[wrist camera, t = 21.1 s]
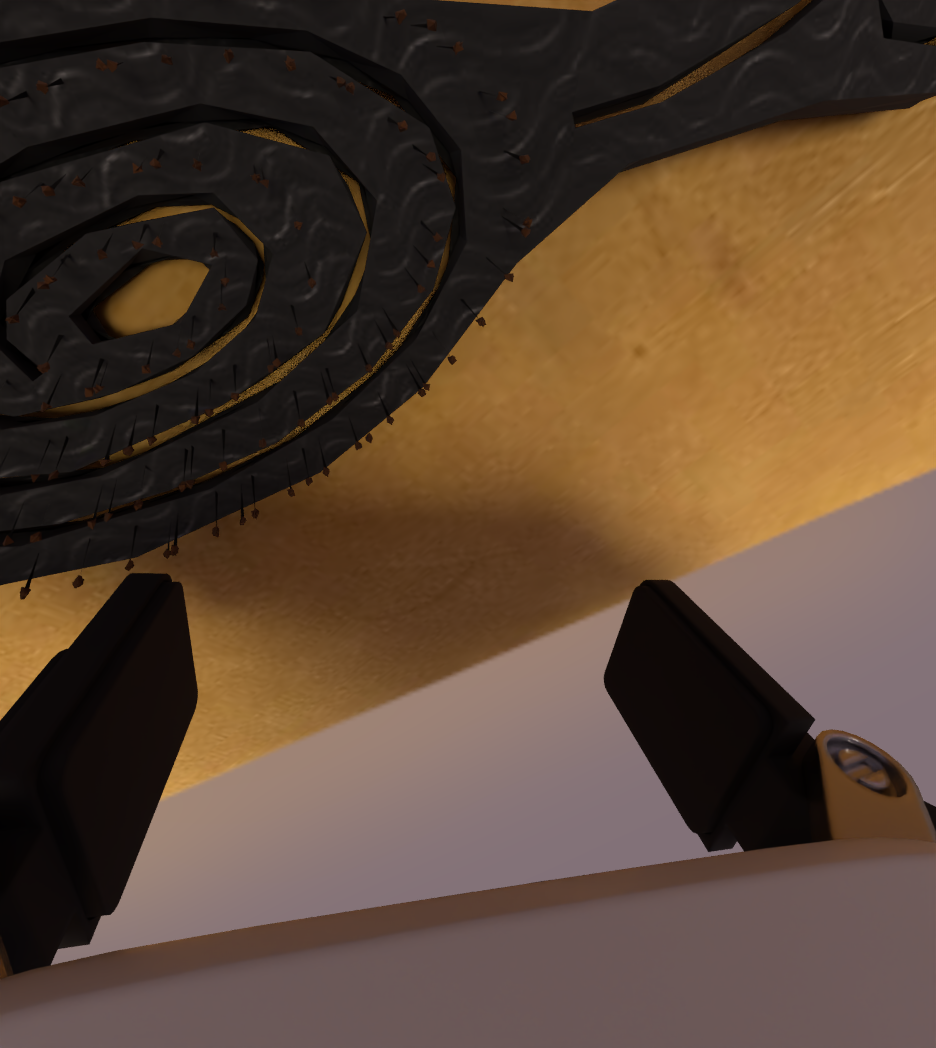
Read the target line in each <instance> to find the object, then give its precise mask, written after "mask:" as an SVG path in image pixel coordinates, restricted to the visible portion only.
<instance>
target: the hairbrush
mask: <svg viewBox="0 0 936 1048" xmlns="http://www.w3.org/2000/svg"><path fill="white" fill-rule="evenodd" d="M800 1H801V0H616V1H613V2H611V3H609V4H607V5H605V6H603V7H600V8H598V9H596V10H594V11H581V10H567V9H553V8H539V7H525V6H511V5H497V4H482V3H468V2H454V1H440V0H0V414H4V415H0V585H3V584H8V583H13V582H18V581H23V580H28V582H27V584H26V587H21V592H20V598H21V599H25V598H26V596H27V595H28V594H29V592H30V591H31V590H30V589H29V587H30V583H31V580H32V579H33V578H38V577H42V576H47V575H52V574H57V573H62V572H67V571H72V570H77V569H82V568H87V567H92V566H96V565H101V564H106V563H111V562H116V561H121V560H126V559H130V560H129V562H128V564H127V566H126V567H125V569H126V570H128V571H129V570H130V569H132V568H133V567H134V564H133V561H132V560H131V558H136V557H138V556H141V555H143V554H145V553H147V552H149V551H151V550H154V549H156V548H158V547H160V546H162V545H164V544H167V543H168V549H166V551H165V552H164V553H163V555H164V557H166V558H167V559H168V557H169V556H170V555H172V556H174V555H175V556H176V554H177V553H178V549H179V548H178V546H177V538H180V537H182V536H184V535H186V534H188V533H190V532H193V531H195V530H197V529H199V528H201V527H203V526H206V525H208V524H210V523H212V522H214V521H216V527H215V528H213V535H214V536H217V537H219V531H220V530H219V528H218V526H217V520H219V519H221V518H223V517H225V516H227V515H229V514H232V513H234V512H236V511H238V510H240V509H241V519H240V525H244V523H245V522H246V521H247V520H246V518H245V517H244V507H247V506H249V505H251V504H253V503H254V506H255V502H257V501H260V500H262V499H264V498H266V497H268V496H270V495H273V494H275V493H277V492H279V491H281V490H283V489H286V488H288V487H290V489H288V490H287V491H288V495H289V496H290V497H293V496H295V493H294V490H293V489H292V488H291V486H292V485H294V484H296V483H299V482H301V481H303V480H305V479H306V484H307V485H308V486H309V485H310V484H311V483H312V482H313V480H312V478H309V477H312V476H314V475H316V474H318V473H320V472H321V471H322V470H323V474H324V475H326V476H327V477H328V475H329V472H330V471H329V469H328V468H327V466H328V465H330V464H331V463H332V462H333V461H335V460H336V459H337V458H338V457H339V456H341V455H342V454H343V453H344V452H345V451H347V450H348V449H349V448H350V447H351V446H353V445H354V444H355V448H356V450H358V449H360V448H362V445H361V443H359V442H358V441H359V440H360V439H361V438H362V437H364V436H365V435H366V434H367V433H368V432H370V431H371V430H372V429H373V428H374V427H376V426H377V425H378V424H379V423H380V422H382V421H383V420H384V419H385V418H387V423H390V424H391V425H392V423H393V421H394V419H393V418H392V417H390V414H391V413H393V412H394V411H395V410H396V409H397V408H399V407H400V406H401V405H402V404H403V403H405V402H406V401H407V400H408V399H409V398H411V397H412V396H413V395H414V394H416V393H417V392H418V394H419V395H420V396H421V397H423V396H425V395H426V393H425V390H428V391H429V387H430V384H426V383H427V381H428V380H429V379H430V377H431V376H432V375H433V373H434V372H435V371H436V369H437V368H438V367H439V365H440V364H441V363H442V361H443V360H444V359H445V358H446V356H447V355H448V354H449V352H450V351H451V350H452V348H453V347H454V346H455V344H456V343H457V342H458V340H459V339H460V338H461V336H462V335H463V334H464V332H465V331H466V330H467V328H468V327H469V326H470V324H471V323H472V322H473V320H474V319H475V318H476V317H477V315H478V314H479V313H480V311H481V310H482V309H483V307H484V306H485V305H486V303H487V302H488V301H489V299H490V298H491V297H492V295H493V294H494V293H495V291H496V290H497V289H498V287H499V286H500V285H501V283H502V282H503V281H504V279H507V280H509V281H511V282H513V277H514V276H513V273H512V274H509V273H510V272H511V270H512V269H513V268H514V266H515V265H516V264H517V263H518V262H519V261H520V260H521V259H522V258H523V257H524V256H526V255H527V254H528V253H529V252H530V251H531V250H532V249H533V248H535V247H536V246H537V245H538V244H539V243H540V242H541V241H542V240H544V239H545V238H546V237H547V236H548V235H549V234H550V233H552V232H553V231H554V230H555V229H556V228H557V227H558V226H559V225H561V224H562V223H563V222H564V221H565V220H566V219H567V218H568V217H570V216H571V215H572V214H573V213H574V212H575V211H576V210H578V209H579V208H580V207H581V206H582V205H583V204H584V203H585V202H587V201H588V200H589V199H590V198H591V197H592V196H593V195H594V194H596V193H597V192H598V191H599V190H600V189H601V188H602V187H604V186H605V185H606V184H607V183H608V182H609V181H610V180H611V179H613V178H614V177H615V176H616V175H617V174H618V173H620V172H623V171H626V170H629V169H632V168H635V167H638V166H641V165H644V164H647V163H651V162H654V161H657V160H660V159H663V158H666V157H669V156H672V155H675V154H678V153H682V152H685V151H688V150H691V149H694V148H697V147H700V146H703V145H706V144H709V143H713V142H716V141H719V140H722V139H725V138H728V137H731V136H734V135H737V134H741V133H744V132H747V131H750V130H753V129H756V128H759V127H762V126H765V125H768V124H772V123H775V122H778V121H782V120H793V119H803V118H813V117H824V116H834V115H844V114H855V113H865V112H875V111H886V110H896V109H906V108H910V107H912V106H914V105H915V104H917V103H919V102H920V101H922V100H925V99H928V98H931V97H933V96H936V46H932V45H925V44H924V43H927V42H929V41H931V40H933V39H934V38H936V0H812V1H811V2H810V3H809V4H808V5H807V6H805V7H804V8H803V9H802V10H801V11H800V12H799V13H797V14H796V15H795V16H794V17H793V18H792V19H790V20H789V21H788V22H787V23H786V24H785V25H783V26H782V27H781V28H780V29H779V30H778V31H776V32H775V33H774V34H773V35H772V36H770V37H769V38H768V39H767V40H766V41H765V42H763V43H762V44H760V45H759V46H757V47H756V48H754V49H752V50H751V51H749V52H747V53H746V54H744V55H743V56H741V57H739V58H738V59H736V60H734V61H733V62H731V63H730V64H728V65H726V66H725V67H723V68H721V69H720V70H718V71H716V72H714V73H713V74H711V75H709V76H707V77H706V78H704V79H702V80H700V81H698V82H697V83H695V84H693V85H691V86H690V87H688V88H686V89H684V90H682V91H681V92H679V93H677V94H675V95H674V96H672V97H670V98H668V99H666V100H665V101H663V102H660V103H657V104H654V105H650V106H647V107H644V108H640V109H637V110H634V111H630V112H627V113H624V114H620V115H617V116H614V117H610V118H607V119H604V120H600V121H597V122H594V123H591V124H587V125H584V126H581V127H577V128H575V124H578V123H582V122H585V121H588V120H591V119H595V118H598V117H601V116H605V115H608V114H611V113H615V112H618V111H621V110H625V109H628V108H631V107H635V106H638V105H641V104H644V103H645V102H647V101H648V100H650V99H651V98H653V97H654V96H656V95H657V94H659V93H661V92H662V91H664V90H665V89H667V88H668V87H670V86H671V85H673V84H674V83H676V82H678V81H679V80H681V79H682V78H684V77H685V76H687V75H688V74H690V73H691V72H693V71H694V70H696V69H698V68H699V67H701V66H702V65H704V64H705V63H707V62H708V61H710V60H711V59H713V58H715V57H716V56H718V55H719V54H721V53H722V52H724V51H725V50H727V49H728V48H730V47H732V46H733V45H735V44H736V43H738V42H739V41H741V40H742V39H744V38H745V37H747V36H749V35H750V34H751V33H753V32H754V31H756V30H757V29H759V28H760V27H762V26H764V25H765V24H767V23H768V22H770V21H771V20H773V19H774V18H776V17H777V16H779V15H780V14H782V13H784V12H785V11H787V10H788V9H790V8H791V7H793V6H794V5H796V4H797V3H799V2H800ZM357 81H358V82H357ZM359 82H361V83H363V84H365V85H368V86H370V87H373V88H375V89H378V90H380V91H383V92H385V93H387V94H390V95H392V96H393V97H394V98H395V99H396V100H397V102H398V103H399V104H400V106H401V107H402V108H403V109H404V111H405V112H404V111H403V110H401V109H400V108H398V107H396V106H395V105H393V104H392V103H390V102H389V101H387V100H385V99H384V98H382V97H381V96H379V95H378V94H376V93H375V92H373V91H371V90H370V89H368V88H367V87H365V86H364V85H362V84H360V83H359ZM270 126H271V127H274V128H275V129H277V130H278V131H280V132H281V133H283V134H285V135H286V136H288V137H289V138H291V139H292V140H294V141H296V142H297V143H299V144H300V145H302V146H303V147H305V148H307V149H308V150H307V149H303V148H299V147H295V146H292V145H288V144H284V143H280V142H277V141H273V140H269V139H265V138H262V137H258V136H254V135H250V134H247V133H243V132H239V131H235V130H241V129H251V128H261V127H270ZM145 139H146V140H145ZM136 140H143V141H139V142H136V143H132V144H129V145H125V146H122V147H119V148H115V147H117V146H120V145H122V144H124V143H127V142H129V141H136ZM113 148H115V149H113ZM110 149H112V150H110ZM438 154H439V155H438ZM439 156H440V157H441V158H442V159H443V161H444V162H445V163H446V165H447V166H448V167H449V168H450V170H451V171H452V172H453V174H454V175H455V176H456V188H455V198H454V201H453V197H452V194H451V191H450V188H449V185H448V182H447V179H446V174H445V173H444V170H443V167H442V164H441V161H440V158H439ZM337 168H338V169H340V170H341V171H343V172H344V173H346V174H347V175H349V176H351V177H352V178H354V179H355V180H357V181H358V182H359V186H360V191H361V196H362V200H363V205H364V210H365V215H366V219H367V224H368V229H369V234H370V244H369V250H368V255H367V261H366V267H365V271H364V273H363V276H362V279H361V281H360V284H359V287H358V289H357V292H356V294H355V296H354V297H353V299H352V300H351V302H350V303H349V305H348V306H347V308H346V309H345V311H344V312H343V314H342V315H341V317H340V318H339V320H338V321H337V323H336V324H335V326H334V327H333V329H332V330H331V332H330V333H329V335H328V336H327V338H326V339H325V341H324V342H323V343H322V344H321V345H320V346H319V347H317V348H316V349H315V350H314V351H313V352H312V353H311V354H310V355H309V356H308V357H306V358H305V359H304V360H303V361H302V362H301V363H300V364H299V365H298V366H297V367H296V368H294V369H293V370H292V371H291V372H290V373H289V374H288V375H287V376H286V377H285V378H283V379H282V380H281V381H280V382H278V383H276V384H274V385H272V386H270V387H269V388H267V389H265V390H263V391H261V392H259V393H257V394H255V395H253V396H251V397H249V398H248V399H246V400H244V401H242V402H240V403H238V404H236V405H234V406H232V407H230V408H229V409H227V410H225V411H223V412H221V413H219V414H217V415H215V416H213V417H211V418H210V419H208V420H206V421H204V422H202V423H200V424H198V422H199V418H200V416H199V415H202V414H204V413H205V414H206V415H207V416H208V417H210V416H211V415H212V414H213V413H214V412H213V409H215V408H217V407H220V406H222V405H224V404H225V403H227V402H228V401H230V400H231V399H234V400H235V401H237V400H238V398H239V394H241V393H242V392H244V391H245V390H247V389H248V388H250V387H252V386H253V385H255V384H256V383H258V382H259V381H261V380H263V379H264V378H266V377H267V376H268V375H270V374H271V373H272V372H274V371H275V370H276V369H278V368H279V367H280V366H282V365H283V364H284V363H285V362H287V361H288V360H289V359H291V358H292V357H293V356H295V355H296V354H297V353H299V352H300V351H301V350H303V349H304V348H305V347H307V346H308V345H309V344H311V343H312V342H313V341H314V340H316V339H317V338H318V337H320V336H321V335H322V334H323V333H324V332H325V331H326V330H327V328H328V326H329V324H330V323H331V321H332V319H333V318H334V316H335V314H336V313H337V311H338V309H339V307H340V306H341V304H342V301H343V298H344V295H345V292H346V290H347V287H348V284H349V281H350V279H351V276H352V273H353V270H354V267H355V265H356V262H357V259H358V256H359V253H360V251H361V248H362V245H363V242H364V239H365V236H366V233H367V232H366V229H365V227H364V224H363V222H362V219H361V217H360V214H359V212H358V209H357V207H356V204H355V202H354V199H353V197H352V194H351V192H350V189H349V187H348V185H347V183H346V182H345V180H344V179H343V177H342V175H341V174H340V172H339V171H338V169H337ZM206 204H212V205H214V206H216V207H217V208H219V209H221V210H223V211H225V212H227V213H229V214H231V215H233V216H235V217H237V218H239V220H240V221H241V222H242V223H243V224H244V225H245V226H246V227H247V228H248V229H249V230H250V231H251V232H252V233H253V234H254V235H255V236H256V237H257V238H258V239H259V240H260V241H261V242H262V243H263V245H264V260H265V275H266V281H265V285H264V289H263V292H262V296H261V300H260V303H259V307H258V311H257V313H256V314H255V316H254V317H253V318H252V320H251V321H250V323H249V324H248V325H247V327H246V328H245V329H244V330H243V331H242V332H240V333H239V334H238V335H237V336H236V337H235V338H234V339H232V340H231V341H230V342H229V343H228V344H227V345H226V346H225V347H223V348H222V349H221V350H220V351H219V352H218V353H217V354H216V355H214V356H213V357H212V358H211V359H210V360H209V361H208V362H206V363H205V364H203V365H201V366H199V367H198V368H196V369H194V370H193V371H191V372H189V373H188V374H186V375H184V376H182V377H181V378H179V379H177V380H176V381H174V382H172V383H170V384H168V385H166V386H163V387H161V388H159V389H156V390H154V391H151V392H149V393H147V394H144V395H142V396H140V397H137V398H134V399H131V400H128V401H125V402H122V403H119V404H116V405H112V406H109V407H105V408H102V409H98V410H95V411H91V412H86V413H80V414H75V415H69V416H64V417H58V418H46V417H26V416H20V415H24V414H29V413H33V412H38V411H42V412H43V411H45V410H47V409H51V408H56V407H60V406H65V405H69V404H74V403H78V402H83V401H87V400H92V399H96V398H101V397H104V396H106V395H110V394H113V393H116V392H119V391H121V390H123V389H126V388H129V387H131V386H134V385H137V384H140V383H142V382H145V381H148V380H150V379H153V378H155V377H158V376H161V375H163V374H166V373H168V372H171V371H173V370H174V369H176V368H177V367H179V366H180V365H182V364H183V363H184V362H186V361H187V360H189V359H190V358H192V357H193V356H194V355H196V354H197V353H199V352H200V351H202V350H203V349H204V348H206V347H207V346H209V345H210V344H212V343H213V342H215V341H216V340H217V339H219V338H220V337H222V336H223V335H225V334H226V333H227V332H229V331H230V330H231V329H233V328H234V327H235V326H236V325H238V324H239V323H240V322H242V321H243V320H244V319H246V318H247V317H248V315H249V312H250V310H251V307H252V304H253V302H254V299H255V297H256V294H257V292H258V289H259V287H260V284H261V281H262V277H263V271H264V263H263V261H262V259H261V257H260V255H259V253H258V251H257V249H256V247H255V245H254V243H253V241H252V240H251V239H250V238H249V237H248V236H247V235H246V234H245V233H244V232H243V231H242V230H241V229H240V228H239V227H238V226H237V225H236V224H234V223H232V222H231V221H229V220H227V219H226V218H225V217H224V216H223V215H222V214H220V213H219V212H218V211H217V210H216V209H215V208H209V209H204V210H199V211H193V212H188V213H183V214H178V215H173V216H167V217H162V218H157V219H152V220H147V221H141V222H136V223H132V224H127V225H123V226H118V227H114V228H109V229H106V228H108V227H111V226H113V225H115V224H117V223H120V222H122V221H124V220H126V219H129V218H131V217H133V216H136V215H138V214H140V213H142V212H145V211H147V210H149V209H151V208H154V207H157V206H181V205H206ZM452 219H453V220H452ZM451 222H452V231H451V242H450V253H449V262H448V264H447V267H446V270H445V272H444V275H443V277H442V280H441V282H440V285H439V287H438V289H437V291H436V292H435V294H434V295H433V297H432V298H431V300H430V302H429V303H428V305H427V306H426V308H425V309H424V311H423V313H422V314H421V316H420V317H419V319H418V320H417V322H416V323H415V325H414V327H413V328H412V330H411V331H410V333H409V334H408V336H407V337H406V339H405V341H404V342H403V344H402V345H401V347H400V348H399V349H398V350H397V351H396V352H395V353H394V354H393V355H392V356H391V357H390V358H389V360H388V361H387V362H386V363H385V364H384V365H383V366H382V367H381V368H380V369H379V370H378V371H377V372H376V373H375V374H374V375H373V376H372V377H371V378H369V379H368V380H367V381H366V382H364V383H363V384H362V385H361V386H359V387H358V388H357V389H356V390H354V391H353V392H352V393H351V394H349V395H348V396H347V397H346V398H344V399H343V400H342V401H341V402H339V403H338V404H337V405H336V406H334V407H333V408H332V409H331V410H329V411H328V412H327V413H326V414H324V415H323V416H322V417H321V418H320V419H318V420H317V421H316V422H315V423H313V424H312V425H311V426H310V427H308V428H307V429H306V430H305V431H303V432H302V433H301V434H300V435H298V436H297V437H296V438H295V439H293V440H291V441H289V442H287V443H284V444H282V445H280V446H278V447H276V448H274V449H272V450H270V451H268V452H266V453H264V454H261V455H259V456H257V457H255V458H253V459H251V460H249V461H247V462H245V463H243V464H240V465H238V466H236V467H234V468H232V469H230V470H228V471H226V472H224V473H222V474H219V475H217V476H215V477H213V478H211V479H209V480H207V481H204V482H201V483H198V484H195V485H193V484H194V481H195V480H194V479H197V478H199V477H201V476H203V475H206V474H208V473H210V472H212V471H215V470H217V469H219V468H220V469H221V470H222V471H223V470H226V469H227V465H228V464H230V463H233V462H235V461H237V460H239V459H242V458H244V457H246V456H248V455H251V454H253V453H255V452H257V451H260V450H262V449H264V448H266V447H269V446H271V445H273V444H275V443H277V442H278V441H280V440H281V439H282V438H284V437H285V436H286V435H287V434H289V433H290V432H291V431H293V430H294V429H295V428H296V427H298V426H300V427H302V426H305V424H304V421H306V420H307V419H308V418H309V417H311V416H312V415H313V414H315V413H316V412H317V411H318V410H320V409H321V408H322V407H324V406H325V405H326V404H328V405H331V403H332V401H333V400H334V401H337V399H338V398H339V397H338V395H339V394H340V393H342V392H343V391H344V390H346V389H347V388H348V387H350V386H351V385H352V384H353V383H355V382H356V381H357V380H359V379H360V378H361V377H362V376H364V375H365V374H366V373H369V372H371V371H372V368H373V367H374V365H375V364H376V363H377V362H378V360H379V359H380V358H381V356H382V355H383V354H384V353H385V351H386V350H387V349H391V350H393V347H392V344H391V343H392V342H393V341H394V340H395V338H397V337H398V338H399V335H401V334H402V333H400V332H401V331H402V329H403V328H404V327H405V325H406V324H407V323H408V321H409V320H410V319H411V318H412V316H413V315H414V314H415V312H416V311H417V310H418V308H419V307H420V306H421V305H422V303H423V302H424V301H425V299H426V298H427V297H428V296H429V294H430V293H431V292H432V290H433V289H434V285H435V281H436V278H437V274H438V270H439V267H440V263H441V259H442V256H443V252H444V248H445V244H446V241H447V237H448V233H449V230H450V226H451ZM104 229H105V230H104ZM74 242H76V243H74ZM72 243H74V244H73V245H72V246H71V247H70V248H68V249H67V250H66V251H65V252H63V251H64V250H65V249H66V248H67V246H68V245H70V244H72ZM62 252H63V253H62ZM174 259H189V260H193V261H198V262H202V263H203V264H204V265H205V266H206V267H207V268H208V269H209V272H208V274H207V276H206V277H205V279H204V281H203V283H202V285H201V287H200V288H199V290H198V292H197V294H196V296H195V298H194V299H193V301H192V303H191V305H190V307H189V309H188V310H187V312H186V313H185V314H184V315H183V316H182V317H181V318H180V319H179V320H178V321H177V322H175V323H174V324H173V325H170V326H166V327H162V328H158V329H154V330H150V331H146V332H142V333H138V334H133V335H129V336H125V337H121V338H117V339H116V338H113V337H111V336H109V335H108V333H107V332H106V330H105V329H104V327H103V326H102V324H101V323H100V321H99V319H98V318H97V316H96V315H95V313H94V312H93V308H94V307H95V306H96V305H97V304H99V303H100V302H101V301H103V300H104V299H105V298H106V297H108V296H109V295H110V294H112V293H113V292H114V291H116V290H117V289H118V288H120V287H121V286H122V285H123V284H125V283H126V282H127V281H129V280H130V279H131V278H133V277H134V276H135V275H136V274H138V273H139V272H140V271H142V270H143V269H144V268H146V267H147V266H148V265H149V264H151V263H154V262H157V261H161V260H174ZM477 318H478V317H477ZM476 321H477V322H478V324H479V325H480V326H484V325H486V323H485V320H484V318H483V317H481V318H478V320H476ZM449 356H450V355H449ZM448 361H449V362H450V363H451V364H452V365H453V364H454V363H455V362H456V361H457V360H456V359H455V357H454V356H453V355H452V356H451V357H448ZM423 387H424V389H425V390H424V389H422V388H423ZM6 415H9V416H6ZM190 419H191V420H190ZM188 420H190V421H191V423H193V424H196V426H194V427H192V428H190V429H189V430H187V431H185V432H183V433H181V434H179V435H177V436H175V437H173V438H171V439H170V440H168V441H166V442H164V443H162V444H160V445H158V446H156V447H154V448H152V449H150V450H149V451H147V452H144V453H142V454H140V455H137V456H134V457H131V458H129V459H126V460H123V461H120V462H117V463H115V464H112V465H109V466H106V467H103V466H104V465H106V464H107V463H108V462H110V461H111V459H109V455H112V454H114V453H116V452H118V451H121V450H123V454H124V455H129V456H130V455H131V454H132V453H133V451H134V449H133V447H132V445H134V444H136V443H139V442H141V441H143V440H145V439H148V442H149V445H152V444H153V443H154V442H155V441H156V440H157V439H156V438H155V437H154V435H157V434H159V433H161V432H163V431H166V430H168V429H170V428H172V427H175V426H177V425H179V424H181V423H184V422H186V421H188ZM197 424H198V425H197ZM372 439H373V438H372V436H371V434H370V433H369V434H368V435H367V436H366V441H368V442H370V443H371V442H372ZM103 458H105V459H103ZM100 459H101V460H100ZM98 460H100V462H101V465H102V467H103V468H94V469H84V470H78V469H80V468H82V467H84V466H87V465H89V464H91V463H94V462H96V461H98ZM15 476H18V477H15ZM3 477H8V478H3ZM176 487H179V490H176V491H173V492H170V493H167V494H164V495H161V496H157V497H154V498H151V499H148V500H145V501H142V500H141V499H143V498H146V497H150V496H153V495H156V494H159V493H163V492H166V491H169V490H172V489H174V488H176ZM137 500H138V501H137ZM133 501H134V504H133V505H129V506H126V507H123V508H120V509H117V510H114V511H111V508H114V507H117V506H120V505H123V504H127V503H130V502H133ZM107 509H109V512H108V513H104V514H101V515H98V516H96V514H97V512H101V511H104V510H107ZM110 511H111V512H110ZM251 513H252V517H253V518H255V519H257V517H258V514H259V511H258V510H257V509H256V508H255V509H254V510H253V511H251ZM91 514H94V516H93V517H92V518H89V519H86V520H83V521H71V520H74V519H78V518H81V517H84V516H87V515H91ZM68 521H71V522H68ZM173 540H174V545H172V546H171V551H170V550H169V542H171V541H173ZM81 572H82V571H81ZM83 581H84V579H83V578H82V576H81V575H80V576H79V575H78V577H77V578H76V579H75V581H74V582H72V583H73V586H74V588H77V587H80V586H81V585H83Z"/></svg>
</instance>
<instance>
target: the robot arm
mask: <svg viewBox="0 0 936 1048" xmlns="http://www.w3.org/2000/svg"><path fill="white" fill-rule="evenodd" d="M604 684H605V688H606V690H607V692H608V694H609V695H610V697H611V699H612V700H613V702H614V704H615V705H616V707H617V709H618V710H619V712H620V714H621V715H622V717H623V719H624V721H625V722H626V724H627V726H628V727H629V729H630V731H631V732H632V734H633V736H634V737H635V739H636V741H637V742H638V744H639V746H640V747H641V749H642V751H643V752H644V754H645V756H646V757H647V759H648V761H649V762H650V764H651V766H652V767H653V769H654V771H655V773H656V774H657V776H658V777H659V779H660V781H661V783H662V784H663V786H664V788H665V789H666V791H667V793H668V794H669V796H670V797H671V799H672V801H673V803H674V804H675V806H676V808H677V809H678V811H679V813H680V814H681V816H682V818H683V819H684V821H685V823H686V824H687V826H688V827H689V828H690V830H691V831H693V832H694V833H696V834H698V836H699V837H700V839H701V841H702V842H703V844H704V845H705V847H706V849H707V850H708V852H711V851H718V850H725V849H731V848H733V847H734V845H735V843H736V842H737V841H738V843H739V844H740V846H741V847H742V849H743V850H744V852H739V853H732V854H724V855H718V856H711V857H704V858H697V859H691V860H683V861H676V862H669V863H663V864H656V865H649V866H643V867H636V868H629V869H622V870H615V871H609V872H602V873H595V874H589V875H582V876H576V877H569V878H563V879H556V880H549V881H542V882H536V883H529V884H523V885H517V886H510V887H504V888H497V889H490V890H483V891H477V892H470V893H464V894H457V895H451V896H444V897H438V898H431V899H425V900H419V901H412V902H406V903H400V904H393V905H387V906H382V907H375V908H369V909H362V910H355V911H349V912H343V913H337V914H330V915H325V916H317V917H311V918H305V919H298V920H292V921H286V922H280V923H274V924H267V925H261V926H254V927H249V928H243V929H237V930H232V931H226V932H220V933H215V934H209V935H203V936H197V937H192V938H187V939H181V940H175V941H169V942H163V943H158V944H152V945H146V946H141V947H135V948H129V949H124V950H118V951H113V952H108V953H104V954H99V955H95V956H90V957H86V958H81V959H77V960H73V961H68V962H63V963H59V964H55V965H51V963H52V961H53V958H54V956H55V954H56V952H57V950H58V949H61V948H68V947H74V946H81V945H88V944H90V941H91V939H92V937H93V934H94V932H95V929H96V927H97V925H98V922H99V920H100V917H101V916H103V915H111V914H112V912H114V910H115V908H116V907H117V905H118V903H119V901H120V899H121V896H122V893H123V891H124V889H125V886H126V883H127V881H128V879H129V876H130V873H131V870H132V868H133V866H134V863H135V861H136V858H137V856H138V853H139V851H140V848H141V846H142V843H143V841H144V838H145V835H146V833H147V830H148V828H149V825H150V823H151V820H152V818H153V815H154V813H155V810H156V808H157V805H158V803H159V800H160V798H161V795H162V793H163V790H164V788H165V785H166V782H167V780H168V777H169V775H170V772H171V770H172V767H173V765H174V762H175V760H176V757H177V755H178V752H179V750H180V747H181V745H182V742H183V740H184V737H185V734H186V732H187V729H188V727H189V724H190V722H191V719H192V717H193V714H194V712H195V709H196V705H197V698H198V689H197V682H196V675H195V668H194V661H193V654H192V647H191V640H190V633H189V626H188V620H187V613H186V606H185V599H184V592H183V587H182V584H181V583H180V582H172V579H171V577H170V575H168V574H155V573H132V574H129V575H128V576H127V577H126V578H125V579H124V581H123V582H122V583H121V584H120V586H119V587H118V588H117V589H116V590H115V592H114V593H113V594H112V595H111V597H110V598H109V599H108V600H107V602H106V603H105V604H104V605H103V607H102V608H101V609H100V610H99V611H98V613H97V614H96V615H95V616H94V618H93V619H92V620H91V621H90V623H89V624H88V625H87V626H86V628H85V629H84V630H83V631H82V632H81V634H80V635H79V636H78V637H77V639H76V640H75V641H74V642H73V644H72V645H71V646H70V647H69V649H65V650H63V651H61V652H59V653H58V654H57V655H56V656H54V657H53V658H52V659H51V660H50V662H49V663H48V664H47V665H46V666H45V668H44V669H43V670H42V671H41V672H40V674H39V675H38V676H37V677H36V678H35V680H34V681H33V682H32V683H31V685H30V686H29V687H28V688H27V689H26V691H25V692H24V693H23V694H22V695H21V697H20V698H19V699H18V700H17V701H16V703H15V704H14V705H13V706H12V707H11V709H10V710H9V711H8V712H7V713H6V715H5V716H4V717H3V718H2V719H1V721H0V1048H936V807H935V806H933V805H931V804H929V803H927V802H925V801H923V798H922V796H921V793H920V791H919V788H918V786H917V785H916V783H915V781H914V780H913V778H912V776H911V775H910V774H909V773H908V772H907V771H906V770H905V768H904V767H903V766H902V765H901V764H900V763H899V762H897V761H896V760H895V759H894V758H893V757H891V756H890V755H889V754H888V753H886V752H885V751H883V750H882V749H880V748H879V747H877V746H876V745H874V744H873V743H871V742H869V741H867V740H865V739H863V738H861V737H858V736H856V735H853V734H850V733H847V732H844V731H839V730H826V731H822V732H821V733H820V734H819V735H818V736H817V737H816V739H815V740H814V739H813V738H812V737H811V736H810V735H809V734H808V733H807V732H808V730H809V729H810V727H811V725H812V724H813V722H814V721H815V719H814V718H813V717H812V716H811V715H810V714H809V713H808V712H807V711H806V710H805V709H804V708H803V707H802V706H801V705H800V704H799V703H798V702H797V701H795V699H794V698H793V697H792V696H791V695H789V693H787V692H786V691H785V690H784V689H783V688H782V687H781V686H780V685H779V684H778V683H777V682H776V681H775V680H774V679H773V678H772V677H771V676H770V675H769V674H768V673H767V672H766V671H765V670H764V669H763V668H762V667H761V666H759V664H757V663H756V662H755V661H754V660H753V659H752V658H751V657H750V656H749V655H748V654H747V653H746V652H745V651H744V650H743V649H742V648H741V647H740V646H739V645H738V644H737V643H736V642H734V640H733V639H732V638H731V637H730V636H728V635H727V634H726V633H725V632H724V631H723V630H722V629H721V628H720V627H719V626H718V625H717V624H716V623H715V622H714V621H713V620H712V619H711V618H710V617H709V616H708V615H707V614H706V613H705V612H704V611H703V610H702V609H700V608H699V607H698V606H697V605H696V604H695V603H694V602H693V601H692V600H691V599H690V598H689V597H688V596H687V595H686V594H685V593H684V592H683V591H682V590H681V589H680V588H679V587H678V586H677V585H676V584H675V583H673V582H672V581H670V580H645V581H643V582H642V583H641V584H640V586H637V587H636V588H635V589H634V591H633V594H632V596H631V599H630V602H629V605H628V608H627V611H626V614H625V616H624V619H623V623H622V625H621V628H620V631H619V633H618V636H617V639H616V642H615V645H614V648H613V650H612V653H611V656H610V659H609V662H608V665H607V668H606V670H605V674H604Z"/></svg>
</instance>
